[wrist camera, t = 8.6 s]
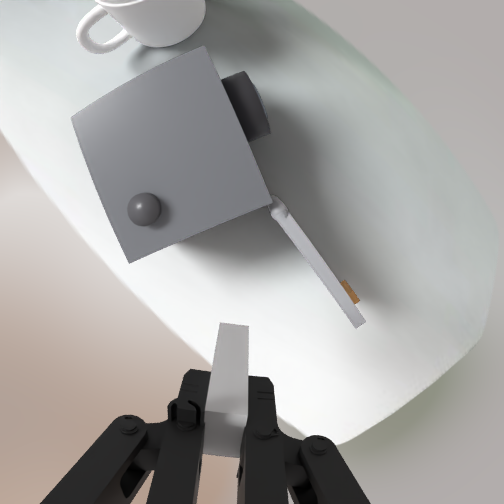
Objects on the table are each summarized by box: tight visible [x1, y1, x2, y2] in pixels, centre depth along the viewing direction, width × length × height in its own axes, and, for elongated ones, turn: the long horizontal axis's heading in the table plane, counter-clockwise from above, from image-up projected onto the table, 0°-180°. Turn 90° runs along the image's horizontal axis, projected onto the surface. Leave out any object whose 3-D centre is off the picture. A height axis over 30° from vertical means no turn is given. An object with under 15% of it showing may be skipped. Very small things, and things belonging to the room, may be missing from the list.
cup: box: [76, 0, 206, 54], centre depth 20 cm, size 8×12×10 cm
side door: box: [267, 195, 366, 328], centre depth 26 cm, size 2×12×8 cm, turn 37°
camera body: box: [71, 45, 273, 264], centre depth 23 cm, size 12×13×10 cm
